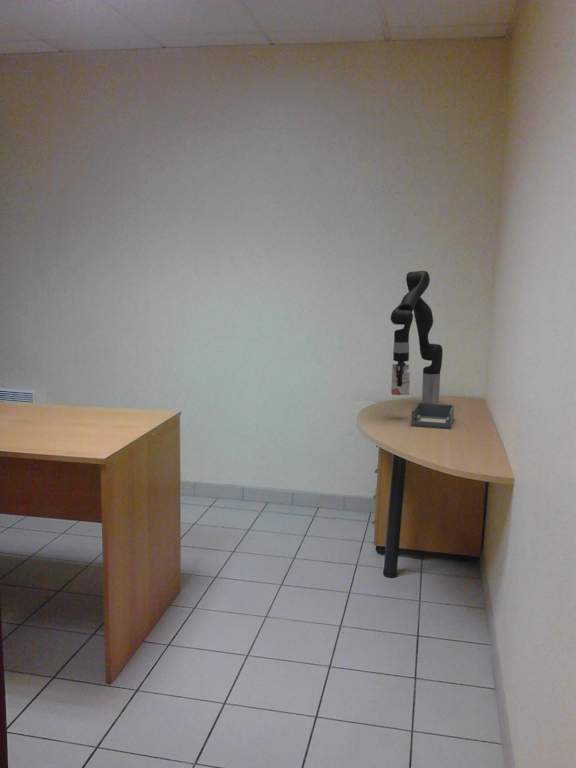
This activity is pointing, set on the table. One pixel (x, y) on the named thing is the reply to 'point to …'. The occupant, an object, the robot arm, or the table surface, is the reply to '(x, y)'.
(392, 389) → the ink cartridge box
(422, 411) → the walled box
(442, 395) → the table surface
